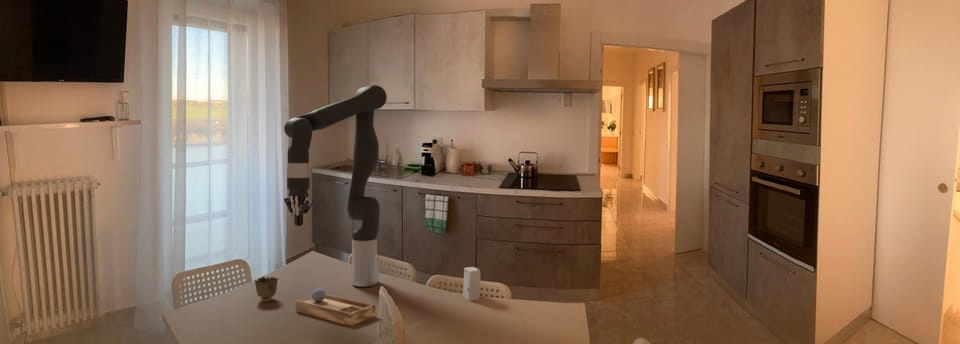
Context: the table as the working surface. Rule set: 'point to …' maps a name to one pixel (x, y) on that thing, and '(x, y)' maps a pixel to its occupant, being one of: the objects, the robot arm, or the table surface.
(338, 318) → the tray
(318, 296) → the ball
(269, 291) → the cup
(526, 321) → the table surface
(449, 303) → the table surface
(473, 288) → the skincare box
